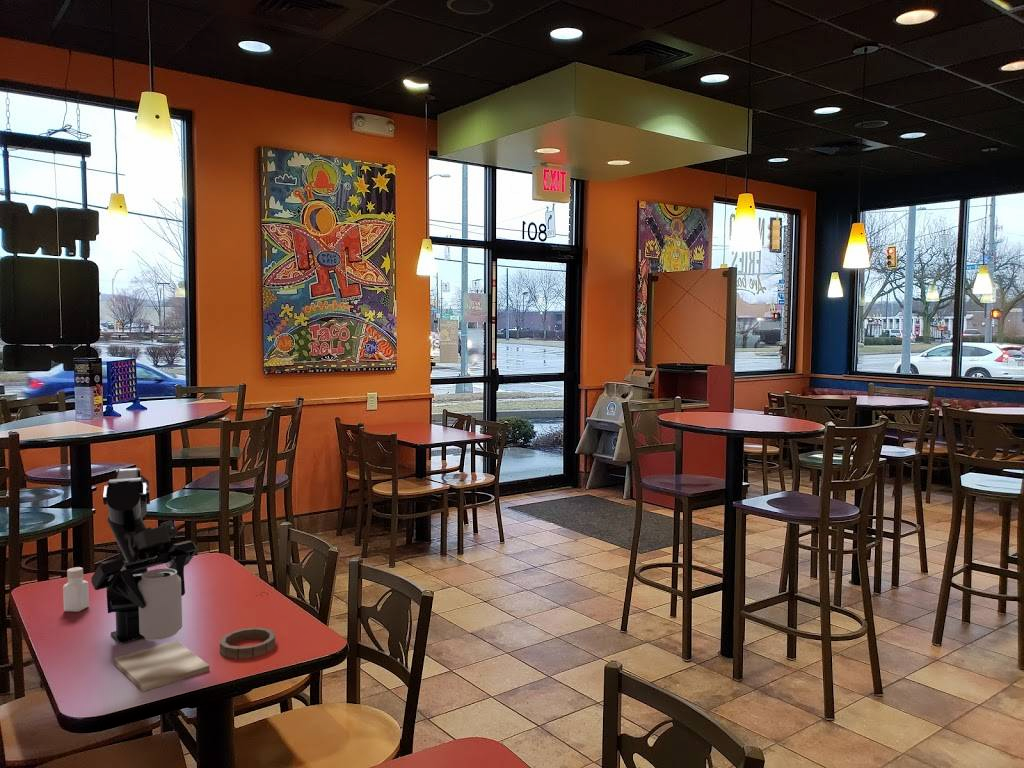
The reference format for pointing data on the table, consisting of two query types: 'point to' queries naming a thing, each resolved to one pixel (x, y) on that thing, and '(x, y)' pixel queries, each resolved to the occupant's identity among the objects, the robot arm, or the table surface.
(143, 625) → the can
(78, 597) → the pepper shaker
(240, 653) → the walnut collar
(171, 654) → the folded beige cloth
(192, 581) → the table surface
